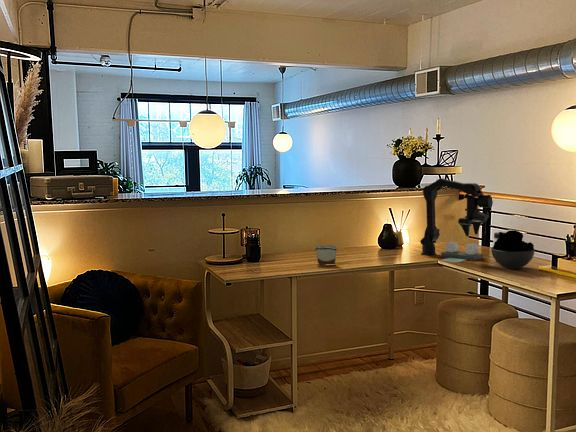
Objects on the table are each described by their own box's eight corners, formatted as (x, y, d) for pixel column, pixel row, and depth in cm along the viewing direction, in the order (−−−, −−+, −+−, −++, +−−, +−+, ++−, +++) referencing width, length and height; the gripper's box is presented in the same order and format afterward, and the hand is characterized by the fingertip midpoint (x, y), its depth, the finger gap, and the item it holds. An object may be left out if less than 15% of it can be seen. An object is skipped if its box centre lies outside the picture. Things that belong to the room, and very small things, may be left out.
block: (446, 256, 316) (446, 242, 315) (450, 255, 319) (450, 241, 318) (453, 257, 313) (453, 243, 312) (457, 256, 316) (457, 242, 315)
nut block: (465, 259, 307) (465, 244, 306) (470, 257, 310) (470, 243, 309) (473, 260, 304) (473, 245, 303) (477, 258, 307) (477, 244, 306)
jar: (502, 256, 312) (503, 234, 310) (490, 254, 318) (490, 233, 317) (512, 254, 317) (513, 233, 315) (500, 252, 323) (500, 231, 322)
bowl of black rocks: (530, 264, 287) (530, 228, 285) (538, 273, 267) (538, 233, 265) (488, 264, 291) (488, 228, 289) (493, 272, 272) (493, 233, 270)
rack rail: (440, 257, 315) (440, 252, 315) (450, 254, 322) (450, 250, 322) (473, 261, 301) (473, 256, 300) (483, 258, 307) (483, 253, 307)
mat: (441, 260, 305) (441, 259, 305) (449, 258, 310) (449, 257, 310) (458, 262, 298) (458, 262, 298) (466, 260, 303) (466, 259, 303)
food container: (340, 263, 306) (339, 245, 305) (337, 265, 300) (337, 247, 299) (318, 262, 310) (318, 244, 309) (315, 265, 304) (314, 246, 303)
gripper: (477, 209, 291) (476, 239, 293) (494, 206, 304) (494, 234, 306) (457, 208, 299) (457, 237, 301) (475, 205, 312) (475, 233, 314)
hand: (471, 235), depth 305 cm, fingers open, 9 cm apart
